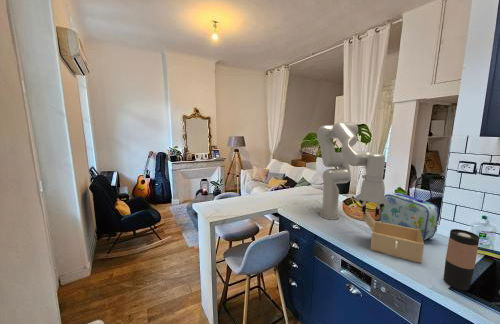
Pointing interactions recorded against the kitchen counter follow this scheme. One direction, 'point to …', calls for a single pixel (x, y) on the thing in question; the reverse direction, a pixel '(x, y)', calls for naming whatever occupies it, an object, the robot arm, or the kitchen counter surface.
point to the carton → (397, 241)
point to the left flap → (368, 220)
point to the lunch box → (410, 213)
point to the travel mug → (460, 258)
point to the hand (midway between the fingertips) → (370, 214)
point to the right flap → (418, 228)
